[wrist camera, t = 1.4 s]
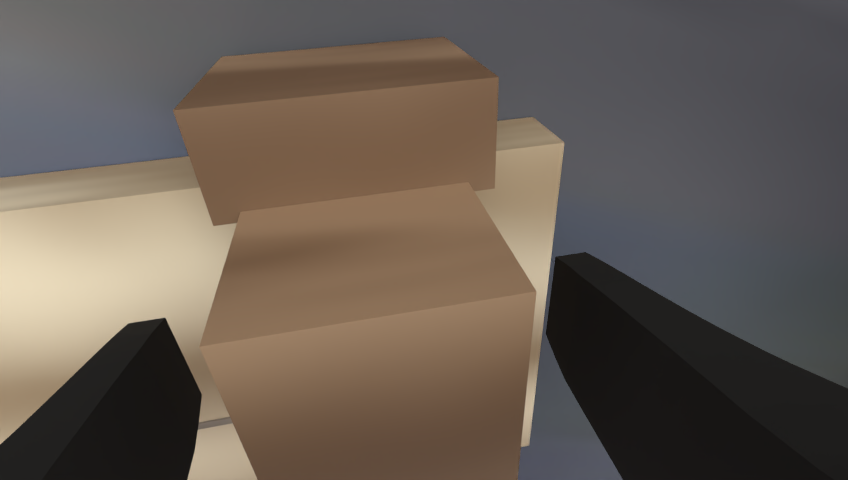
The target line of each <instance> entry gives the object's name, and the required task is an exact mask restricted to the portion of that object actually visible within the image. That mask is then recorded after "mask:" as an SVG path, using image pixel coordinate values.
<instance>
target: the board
mask: <svg viewBox="0 0 848 480" xmlns="http://www.w3.org/2000/svg"><path fill="white" fill-rule="evenodd" d="M563 151H564V142H563V141H562V140H561V139H559V138H558V137H557V136H556V135H554V134H553V133H552V132H551V131H549V130H548V129H547V128H546V127H544V126H543V125H542V124H541V123H540V122H538V121H537V120H536V119H535V118H533V117H528V118H519V119H511V120H502V121H497V140H496V169H495V189H488V190H480V191H474V192H475V193H476V195H477V197H478V198H479V200H480V201H481V203H482V205H483V206H484V208H485V209H486V211H487V213H488V214H489V216H490V217H491V219H492V221H493V222H494V224H495V225H496V227H497V229H498V230H499V232H500V233H501V235H502V237H503V238H504V240H505V242H506V243H507V245H508V246H509V248H510V250H511V251H512V253H513V254H514V256H515V258H516V259H517V261H518V262H519V264H520V266H521V267H522V269H523V270H524V272H525V274H526V275H527V277H528V278H529V280H530V282H531V283H532V285H533V286H534V288H535V290H536V291H537V292H536V302H535V312H534V321H533V331H532V341H531V351H530V361H529V371H528V381H527V390H526V400H525V410H524V420H523V430H522V440H521V447H524V446H528V445H529V441H530V432H531V424H532V415H533V407H534V398H535V390H536V381H537V373H538V364H539V355H540V347H541V338H542V330H543V321H544V313H545V304H546V296H547V287H548V279H549V270H550V262H551V253H552V244H553V236H554V227H555V219H556V210H557V202H558V193H559V185H560V176H561V168H562V159H563ZM236 225H237V223H233V224H226V225H218V226H213V224H212V221H211V218H210V215H209V212H208V209H207V206H206V204H205V201H204V198H203V195H202V192H201V189H200V186H199V183H198V181H197V178H196V175H195V172H194V169H193V166H192V163H191V161H190V158H189V156H187V157H179V158H170V159H161V160H152V161H144V162H135V163H126V164H118V165H109V166H100V167H91V168H83V169H74V170H65V171H56V172H48V173H39V174H30V175H21V176H13V177H4V178H0V444H1V443H2V442H3V441H5V440H6V439H7V438H8V437H9V436H10V435H11V434H12V433H13V432H14V431H15V430H17V429H18V428H19V427H20V426H21V425H22V424H23V423H24V422H25V421H26V420H27V419H28V418H29V417H30V416H31V415H32V414H33V413H34V412H35V411H36V410H38V409H39V408H40V407H41V406H42V405H43V404H44V403H45V402H46V401H47V400H48V399H49V398H50V397H51V396H52V395H53V394H54V393H55V392H56V391H57V390H58V389H59V388H60V387H62V386H63V385H64V384H65V383H66V382H67V381H68V380H69V379H70V378H71V377H72V376H73V375H74V374H75V373H76V372H77V371H78V370H79V369H80V368H81V367H82V366H83V365H84V364H85V363H86V362H87V361H88V360H89V359H90V358H91V357H92V356H93V355H95V354H96V353H97V352H98V351H99V350H100V349H101V348H102V347H103V346H104V345H105V344H106V343H107V342H108V341H109V340H110V339H111V338H112V337H114V336H115V335H116V334H117V333H118V332H119V331H120V330H121V329H122V328H124V327H125V326H126V325H127V324H128V323H134V322H140V321H147V320H153V319H160V318H166V320H167V322H168V324H169V327H170V329H171V331H172V333H173V335H174V337H175V339H176V341H177V343H178V345H179V348H180V350H181V352H182V354H183V356H184V358H185V360H186V362H187V364H188V366H189V369H190V371H191V373H192V375H193V377H194V379H195V381H196V383H197V385H198V387H199V390H200V392H201V394H202V399H201V408H200V417H199V425H198V432H197V439H196V446H195V451H194V455H193V459H192V463H191V467H190V471H189V475H188V479H187V480H257V477H256V475H255V473H254V470H253V468H252V466H251V464H250V461H249V459H248V457H247V454H246V452H245V450H244V448H243V445H242V443H241V441H240V439H239V436H238V434H237V432H236V429H235V427H234V425H233V423H232V420H231V418H230V416H229V414H228V411H227V409H226V407H225V404H224V402H223V400H222V398H221V395H220V393H219V391H218V388H217V386H216V384H215V382H214V379H213V377H212V375H211V373H210V370H209V368H208V366H207V363H206V361H205V359H204V357H203V354H202V352H201V350H200V348H199V346H200V343H201V339H202V336H203V333H204V329H205V326H206V323H207V320H208V316H209V313H210V310H211V307H212V303H213V300H214V297H215V293H216V290H217V287H218V284H219V280H220V277H221V274H222V271H223V267H224V264H225V261H226V257H227V254H228V251H229V248H230V244H231V241H232V238H233V235H234V231H235V228H236Z"/></svg>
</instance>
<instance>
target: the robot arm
mask: <svg viewBox="0 0 848 480" xmlns="http://www.w3.org/2000/svg"><path fill="white" fill-rule="evenodd" d="M546 335H547V338H548V340H549V343H550V345H551V348H552V350H553V353H554V355H555V358H556V360H557V362H558V365H559V367H560V369H561V371H562V374H563V376H564V378H565V380H566V382H567V384H568V386H569V387H570V389H571V391H572V393H573V394H574V396H575V398H576V400H577V401H578V403H579V405H580V407H581V408H582V410H583V412H584V414H585V415H586V417H587V419H588V420H589V422H590V424H591V426H592V427H593V429H594V431H595V432H596V434H597V436H598V438H599V439H600V441H601V443H602V444H603V446H604V448H605V450H606V451H607V453H608V455H609V456H610V458H611V460H612V461H613V463H614V465H615V467H616V468H617V470H618V472H619V473H620V475H621V477H622V479H623V480H848V389H847V388H845V387H843V386H840V385H838V384H836V383H834V382H831V381H829V380H827V379H825V378H822V377H820V376H818V375H816V374H813V373H811V372H809V371H807V370H804V369H802V368H800V367H798V366H795V365H793V364H791V363H789V362H787V361H785V360H782V359H780V358H778V357H776V356H774V355H772V354H770V353H768V352H766V351H764V350H762V349H760V348H758V347H756V346H754V345H752V344H750V343H748V342H746V341H744V340H742V339H740V338H738V337H736V336H734V335H732V334H730V333H728V332H726V331H724V330H723V329H721V328H719V327H717V326H715V325H713V324H711V323H709V322H708V321H706V320H704V319H702V318H700V317H698V316H697V315H695V314H693V313H691V312H689V311H688V310H686V309H684V308H682V307H680V306H679V305H677V304H675V303H673V302H672V301H670V300H668V299H666V298H665V297H663V296H661V295H659V294H658V293H656V292H654V291H653V290H651V289H649V288H647V287H646V286H644V285H642V284H641V283H639V282H637V281H635V280H634V279H632V278H630V277H629V276H627V275H625V274H624V273H622V272H620V271H618V270H617V269H615V268H613V267H611V266H610V265H608V264H606V263H604V262H603V261H601V260H599V259H597V258H595V257H593V256H591V255H590V254H588V253H586V252H584V253H578V254H571V255H565V256H558V257H556V258H555V266H554V274H553V282H552V290H551V298H550V306H549V313H548V321H547V329H546ZM201 399H202V394H201V392H200V390H199V387H198V385H197V383H196V381H195V379H194V377H193V375H192V373H191V371H190V369H189V366H188V364H187V362H186V360H185V358H184V356H183V354H182V352H181V350H180V348H179V345H178V343H177V341H176V339H175V337H174V335H173V333H172V331H171V329H170V327H169V324H168V322H167V320H166V318H160V319H153V320H147V321H140V322H134V323H128V324H127V325H126V326H125V327H124V328H122V329H121V330H120V331H119V332H118V333H117V334H116V335H115V336H114V337H112V338H111V339H110V340H109V341H108V342H107V343H106V344H105V345H104V346H103V347H102V348H101V349H100V350H99V351H98V352H97V353H96V354H95V355H93V356H92V357H91V358H90V359H89V360H88V361H87V362H86V363H85V364H84V365H83V366H82V367H81V368H80V369H79V370H78V371H77V372H76V373H75V374H74V375H73V376H72V377H71V378H70V379H69V380H68V381H67V382H66V383H65V384H64V385H63V386H62V387H60V388H59V389H58V390H57V391H56V392H55V393H54V394H53V395H52V396H51V397H50V398H49V399H48V400H47V401H46V402H45V403H44V404H43V405H42V406H41V407H40V408H39V409H38V410H36V411H35V412H34V413H33V414H32V415H31V416H30V417H29V418H28V419H27V420H26V421H25V422H24V423H23V424H22V425H21V426H20V427H19V428H18V429H17V430H15V431H14V432H13V433H12V434H11V435H10V436H9V437H8V438H7V439H6V440H5V441H3V442H2V443H1V444H0V480H187V479H188V475H189V471H190V467H191V463H192V459H193V455H194V451H195V446H196V439H197V432H198V425H199V417H200V408H201Z"/></svg>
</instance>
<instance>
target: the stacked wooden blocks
mask: <svg viewBox="0 0 848 480" xmlns="http://www.w3.org/2000/svg"><path fill="white" fill-rule="evenodd" d="M498 81H499V77H498V76H497V75H495V74H494V73H492V72H491V71H490V70H488V69H487V68H486V67H484V66H483V65H482V64H480V63H479V62H478V61H476V60H475V59H474V58H472V57H471V56H469V55H468V54H467V53H465V52H464V51H463V50H461V49H460V48H459V47H457V46H456V45H455V44H453V43H452V42H451V41H449V40H448V39H446V38H445V37H437V38H426V39H415V40H403V41H392V42H381V43H370V44H359V45H348V46H336V47H325V48H314V49H303V50H292V51H280V52H269V53H258V54H247V55H236V56H224V57H221V58H220V59H219V60H218V61H217V62H216V63H215V65H214V66H213V67H212V68H211V69H210V70H209V71H208V72H207V73H206V74H205V76H204V77H203V78H202V79H201V80H200V81H199V82H198V83H197V84H196V85H195V87H194V88H193V89H192V90H191V91H190V92H189V93H188V94H187V95H186V97H185V98H184V99H183V100H182V101H181V102H180V103H179V104H178V105H177V106H176V108H175V109H174V110H173V112H174V115H175V117H176V120H177V123H178V126H179V129H180V132H181V135H182V138H183V140H184V143H185V146H186V149H187V152H188V155H189V158H190V161H191V163H192V166H193V169H194V172H195V175H196V178H197V181H198V183H199V186H200V189H201V192H202V195H203V198H204V201H205V204H206V206H207V209H208V212H209V215H210V218H211V221H212V224H213V226H218V225H226V224H233V223H237V225H236V228H235V231H234V235H233V238H232V241H231V244H230V248H229V251H228V254H227V257H226V261H225V264H224V267H223V271H222V274H221V277H220V280H219V284H218V287H217V290H216V293H215V297H214V300H213V303H212V307H211V310H210V313H209V316H208V320H207V323H206V326H205V329H204V333H203V336H202V339H201V343H200V346H199V348H200V350H201V352H202V354H203V357H204V359H205V361H206V363H207V366H208V368H209V370H210V373H211V375H212V377H213V379H214V382H215V384H216V386H217V388H218V391H219V393H220V395H221V398H222V400H223V402H224V404H225V407H226V409H227V411H228V414H229V416H230V418H231V420H232V423H233V425H234V427H235V429H236V432H237V434H238V436H239V439H240V441H241V443H242V445H243V448H244V450H245V452H246V454H247V457H248V459H249V461H250V464H251V466H252V468H253V470H254V473H255V475H256V477H257V480H517V479H518V469H519V459H520V450H521V440H522V430H523V420H524V410H525V400H526V390H527V381H528V371H529V361H530V351H531V341H532V331H533V321H534V312H535V302H536V292H537V291H536V290H535V288H534V286H533V285H532V283H531V282H530V280H529V278H528V277H527V275H526V274H525V272H524V270H523V269H522V267H521V266H520V264H519V262H518V261H517V259H516V258H515V256H514V254H513V253H512V251H511V250H510V248H509V246H508V245H507V243H506V242H505V240H504V238H503V237H502V235H501V233H500V232H499V230H498V229H497V227H496V225H495V224H494V222H493V221H492V219H491V217H490V216H489V214H488V213H487V211H486V209H485V208H484V206H483V205H482V203H481V201H480V200H479V198H478V197H477V195H476V193H475V192H474V191H480V190H488V189H495V169H496V140H497V110H498Z"/></svg>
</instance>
